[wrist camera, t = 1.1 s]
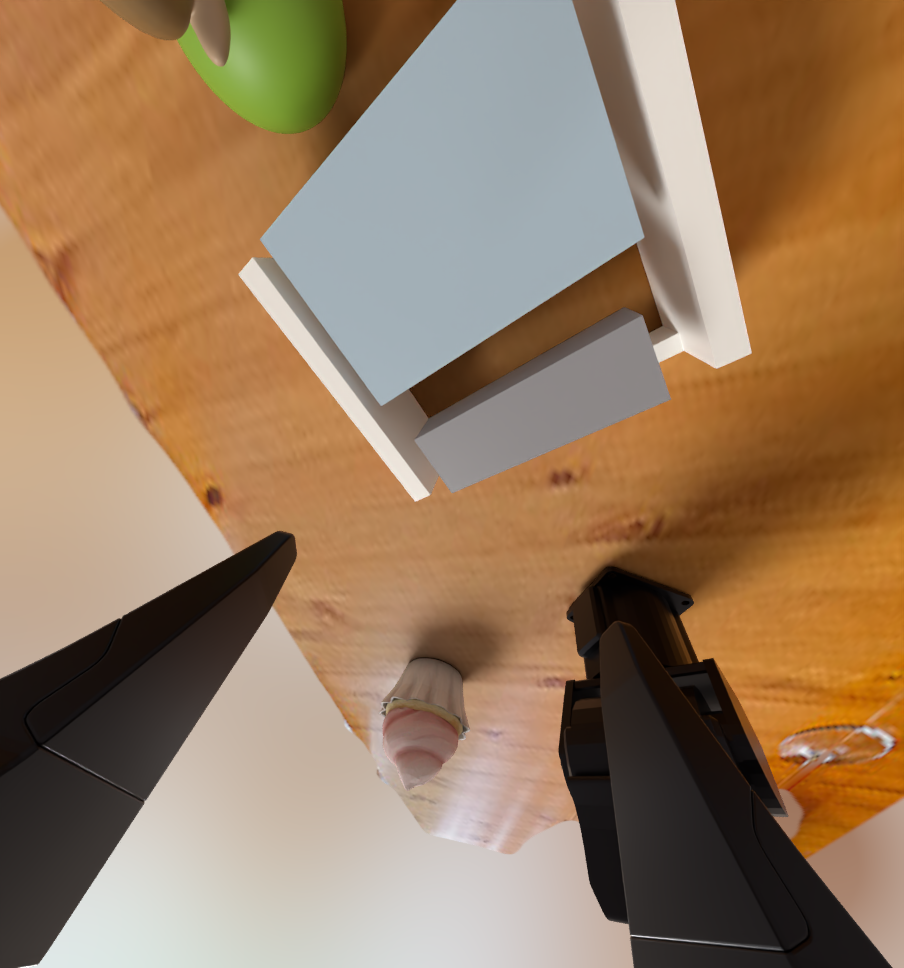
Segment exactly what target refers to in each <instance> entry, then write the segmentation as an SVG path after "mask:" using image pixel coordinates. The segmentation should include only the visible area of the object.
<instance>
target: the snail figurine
mask: <svg viewBox="0 0 904 968" xmlns="http://www.w3.org/2000/svg"><path fill="white" fill-rule="evenodd" d="M100 1H101V2H102V3H103V4H105V5H106V6H107V7H108V8H109V9H111V10H112V11H113V12H114V13H115V14H117V15H118V16H119V17H120V18H122V19H123V20H125V21H126V22H128V23H129V24H131V25H132V26H134V27H135V28H137V29H138V30H140V31H142V32H144V33H146V34H148V35H151V36H153V37H155V38H158V39H162V40H176V39H177V41H178V43H179V44H180V46H181V48H182V50H183V51H184V53H185V54H186V56H187V58H188V59H189V61H190V62H191V64H192V65H193V67H194V68H195V70H196V71H197V72H198V74H199V75H200V76H201V78H202V79H203V80H204V81H205V83H206V84H207V85H208V86H209V87H210V89H211V90H212V91H213V92H214V93H215V94H216V95H217V96H218V97H219V98H220V99H221V100H222V101H223V102H224V103H225V104H226V105H227V106H228V107H230V108H231V109H232V110H233V111H234V112H236V113H237V114H238V115H240V116H241V117H243V118H244V119H246V120H247V121H249V122H251V123H252V124H254V125H256V126H258V127H260V128H263V129H266V130H268V131H272V132H276V133H282V134H294V133H300V132H304V131H306V130H309V129H311V128H313V127H314V126H316V125H317V124H318V123H320V122H321V121H322V120H323V119H324V118H325V117H326V116H327V114H328V113H329V112H330V110H331V109H332V107H333V105H334V103H335V102H336V99H337V97H338V95H339V92H340V89H341V86H342V82H343V78H344V72H345V65H346V53H347V36H346V22H345V14H344V8H343V2H342V0H100Z"/></svg>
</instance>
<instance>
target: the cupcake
mask: <svg viewBox="0 0 904 968" xmlns="http://www.w3.org/2000/svg"><path fill="white" fill-rule="evenodd" d="M381 706H382V707H383V708H382V709H381V710H380V712H379V714H381V715H382V716H384V717H385V719H384V722H383V728H382V730H383V736H384V737H383V748H384V752H385V754H386V756H387V758H388V759H389V760H390V761H391V762H392V763H393V764H394V765H396V766H397V771H398V774H399V777H400V779H401V782H402V784H403V786H404V788H405V789H406V790H407V791H408V790H410V789H412V788H414V787H416V786H420V785H424V784H425V783H427V782H429V781H430V780H432V779H433V778H434V777H435V776H436V775H437V773H438V772H439V771H440V769H441V767H442V764H443V763H445V762H447V761H448V760H449V759H450V758H451V757H452V756H453V755H454V753H455V751H456V749H457V746H458V740H465V739H466V736H465V733H467V732H469V731H470V728H469V724H468V720H467V717H466V713H465V708H464V698H463V681H462V678H461V675H460V673H459V672H458V671H457V670H456V669H455V668H453V667H452V666H451V665H449V664H447V663H444V662H442V661H439V660H435V659H429V658H420V659H415V660H413V661H411V662H410V663H409V664H408V665H407V667H406V669H405V670H404V672H403V674H402V676H401V677H400V679H399V681H398V682H397V684H396V685H395V687H394V688H393V690H392V691H391V692H390V693H389V694H388V695H387V696H386V697H385V698H384V700H383V701H382V702H381Z"/></svg>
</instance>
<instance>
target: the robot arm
mask: <svg viewBox="0 0 904 968" xmlns="http://www.w3.org/2000/svg"><path fill="white" fill-rule="evenodd" d="M296 556H297V550H296V543H295V537H294V535H293V534H291V533H287V532H283V531H277V532H275V533H273V534H271V535H269V536H267V537H266V538H264V539H262V540H260V541H258V542H256V543H255V544H253V545H251V546H249V547H247V548H246V549H244V550H242V551H240V552H238V553H236V554H235V555H233V556H231V557H230V558H227V559H226V560H224V561H222V562H220V563H218V564H216V565H215V566H213V567H211V568H209V569H208V570H206V571H204V572H202V573H201V574H199V575H197V576H195V577H193V578H191V579H189V580H188V581H186V582H184V583H182V584H180V585H178V586H177V587H175V588H173V589H171V590H169V591H167V592H166V593H164V594H162V595H160V596H159V597H157V598H155V599H153V600H151V601H150V602H147V603H146V604H144V605H142V606H140V607H139V608H137V609H135V610H133V611H131V612H129V613H128V614H126V615H124V616H123V617H122V619H120V618H119V619H117V620H115V621H113V622H111V623H109V624H107V625H105V626H104V627H102V628H100V629H98V630H96V631H94V632H93V633H91V634H89V635H87V636H85V637H83V638H81V639H79V640H78V641H76V642H74V643H72V644H70V645H68V646H66V647H64V648H62V649H60V650H58V651H56V652H54V653H52V654H50V655H48V656H46V657H44V658H42V659H40V660H38V661H36V662H34V663H32V664H30V665H28V666H26V667H24V668H22V669H20V670H18V671H16V672H13V673H11V674H9V675H7V676H5V677H3V678H1V679H0V968H24V967H30V966H35V965H38V964H39V963H40V961H41V960H42V958H43V957H44V956H45V954H46V953H47V951H48V950H49V948H50V947H51V945H52V944H53V942H54V941H55V939H56V938H57V936H58V935H59V933H60V932H61V930H62V929H63V927H64V926H65V924H66V922H67V921H68V919H69V918H70V916H71V914H72V913H73V912H74V910H75V908H76V907H77V906H78V904H79V903H80V901H81V899H82V898H83V896H84V895H85V893H86V892H87V890H88V889H89V887H90V886H91V884H92V882H93V881H94V879H95V878H96V877H97V875H98V873H99V872H100V870H101V869H102V867H103V866H104V864H105V863H106V861H107V860H108V858H109V856H110V855H111V853H112V852H113V850H114V849H115V847H116V846H117V844H118V843H119V841H120V840H121V838H122V837H123V835H124V834H125V832H126V831H127V829H128V828H129V826H130V824H131V823H132V821H133V820H134V818H135V817H136V815H137V814H138V812H139V810H140V809H141V808H142V806H143V805H144V801H145V800H146V799H147V798H148V797H149V795H150V793H151V792H152V790H153V789H154V787H155V786H156V784H157V783H158V781H159V779H160V778H161V777H162V775H163V774H164V772H165V770H166V769H167V767H168V766H169V764H170V763H171V761H172V760H173V758H174V756H175V755H176V754H177V752H178V751H179V749H180V747H181V746H182V744H183V743H184V741H185V740H186V738H187V737H188V735H189V734H190V732H191V731H192V729H193V727H194V726H195V725H196V723H197V721H198V720H199V718H200V717H201V715H202V714H203V712H204V711H205V709H206V708H207V706H208V705H209V703H210V702H211V700H212V699H213V697H214V695H215V694H216V692H217V691H218V689H219V688H220V686H221V685H222V683H223V682H224V680H225V679H226V677H227V676H228V674H229V673H230V671H231V670H232V668H233V666H234V665H235V663H236V662H237V660H238V659H239V657H240V656H241V654H242V652H243V651H244V649H245V648H246V647H247V645H248V643H249V642H250V640H251V639H252V637H253V636H254V634H255V633H256V631H257V630H258V628H259V627H260V625H261V624H262V622H263V621H264V619H265V617H266V616H267V614H268V612H269V611H270V609H271V607H272V605H273V603H274V601H275V599H276V597H277V595H278V594H279V592H280V590H281V588H282V586H283V584H284V582H285V580H286V578H287V576H288V574H289V572H290V570H291V568H292V566H293V564H294V562H295V560H296ZM612 573H613V574H612ZM693 604H694V601H693V599H692V597H691V596H690V595H689V594H686V593H683V592H681V591H678V590H675V589H672V588H670V587H667V586H664V585H662V584H659V583H656V582H654V581H651V580H648V579H645V578H643V577H640V576H637V575H635V574H632V573H629V572H626V571H624V570H621V569H618V568H616V567H607V568H606V569H604V571H603V572H602V573H601V574H600V575H599V576H598V577H597V578H596V579H595V581H594V582H593V583H592V584H591V585H590V586H589V587H587V588H586V590H585V591H584V592H583V593H582V594H581V595H580V596H579V597H578V599H577V600H576V601H575V602H574V603H573V604H572V606H571V608H570V609H569V610H568V611H567V613H566V614H567V619H568V620H569V621H571V622H574V627H575V635H576V644H577V652H578V654H579V656H581V657H584V664H585V671H586V678H587V679H586V680H579V681H575V680H569V681H566V686H565V694H564V703H563V712H562V722H561V732H560V741H559V757H560V760H561V766H562V769H563V773H564V777H565V780H566V783H567V787H568V789H569V791H570V794H571V796H572V798H573V801H574V804H575V807H576V811H577V815H578V819H579V824H580V828H581V833H582V838H583V844H584V850H585V856H586V863H587V869H588V875H589V881H590V885H591V887H592V889H593V892H594V894H595V896H596V898H597V900H598V902H599V904H600V906H601V909H602V911H603V913H604V915H605V916H606V918H607V919H608V920H610V921H614V922H620V923H625V924H629V930H630V935H631V938H630V940H631V948H632V956H633V964H634V968H892V967H891V965H890V964H889V963H888V962H887V961H886V959H885V958H884V957H883V955H882V954H881V953H880V952H879V951H878V949H877V948H876V947H875V946H874V944H873V943H872V942H871V941H870V939H869V938H868V937H867V936H866V935H865V933H864V932H863V931H862V929H861V928H860V927H859V926H858V925H857V923H856V922H855V921H854V920H853V918H852V917H851V916H850V915H849V913H848V912H847V911H846V910H845V908H843V906H842V905H841V904H840V902H839V901H838V900H837V898H836V897H835V896H834V895H833V893H832V892H831V891H830V890H829V889H828V887H827V886H826V885H825V883H824V882H823V881H822V880H821V878H820V877H819V876H818V875H817V873H816V872H815V871H814V870H813V868H812V867H811V866H810V864H809V863H808V862H807V861H806V859H805V858H804V857H803V856H802V854H801V853H800V852H799V851H798V849H797V848H796V847H795V845H794V844H793V843H792V841H791V840H790V839H789V837H788V836H787V835H786V833H785V832H784V831H783V830H782V828H781V827H780V825H779V824H778V823H777V821H776V820H775V819H774V817H773V816H777V817H778V816H779V817H788V814H787V811H786V808H785V806H784V803H783V800H782V798H781V795H780V793H779V790H778V788H777V785H776V783H775V780H774V777H773V775H772V772H771V770H770V767H769V765H768V762H767V760H766V757H765V754H764V752H763V749H762V747H761V745H760V743H759V740H758V738H757V736H756V734H755V732H754V730H753V728H752V726H751V724H750V722H749V720H748V718H747V716H746V714H745V712H744V710H743V708H742V706H741V704H740V702H739V700H738V698H737V697H736V695H735V693H734V692H733V690H732V688H731V687H730V685H729V683H728V682H727V680H726V678H725V677H724V675H723V673H722V672H721V670H720V668H719V667H718V665H717V664H716V662H715V660H714V659H713V658H711V659H705V660H703V662H699V661H698V659H697V656H696V654H695V652H694V649H693V647H692V645H691V642H690V640H689V638H688V635H687V633H686V630H685V628H684V626H683V623H682V621H681V619H680V616H679V615H681V614H682V613H683V612H685V611H686V610H687V609H688V608H690V607H691V606H692V605H693Z"/></svg>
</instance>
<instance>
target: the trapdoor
mask: <svg viewBox="0 0 904 968" xmlns="http://www.w3.org/2000/svg"><path fill="white" fill-rule="evenodd" d="M643 238H645V237H644V234H643V230H642V227H641V224H640V221H639V217H638V214H637V211H636V208H635V204H634V201H633V198H632V195H631V191H630V188H629V185H628V181H627V178H626V175H625V172H624V168H623V165H622V162H621V159H620V155H619V152H618V149H617V146H616V142H615V139H614V136H613V133H612V129H611V126H610V123H609V119H608V116H607V113H606V110H605V106H604V103H603V100H602V97H601V93H600V90H599V87H598V84H597V80H596V77H595V74H594V71H593V67H592V64H591V61H590V57H589V54H588V51H587V48H586V44H585V41H584V38H583V35H582V31H581V28H580V25H579V22H578V18H577V15H576V12H575V9H574V5H573V2H572V0H457V1H456V2H455V3H454V5H453V6H452V7H451V8H450V9H449V11H448V12H447V13H446V14H445V16H444V17H443V18H442V19H441V20H440V22H439V23H438V24H437V25H436V26H435V28H434V29H433V30H432V31H431V33H430V34H429V35H428V36H427V37H426V39H425V40H424V41H423V42H422V43H421V45H420V46H419V47H418V48H417V49H416V51H415V52H414V53H413V54H412V56H411V57H410V58H409V59H408V60H407V62H406V63H405V64H404V65H403V66H402V68H401V69H400V70H399V71H398V72H397V74H396V75H395V76H394V77H393V79H392V80H391V81H390V82H389V83H388V85H387V86H386V87H385V88H384V89H383V91H382V92H381V93H380V94H379V96H378V97H377V98H376V99H375V100H374V102H373V103H372V104H371V105H370V106H369V108H368V109H367V110H366V111H365V112H364V114H363V115H362V116H361V117H360V119H359V120H358V121H357V122H356V123H355V125H354V126H353V127H352V128H351V129H350V131H349V132H348V133H347V134H346V136H345V137H344V138H343V139H342V140H341V142H340V143H339V144H338V145H337V146H336V148H335V149H334V150H333V151H332V152H331V154H330V155H329V156H328V157H327V159H326V160H325V161H324V162H323V163H322V165H321V166H320V167H319V168H318V169H317V171H316V172H315V173H314V174H313V176H312V177H311V178H310V179H309V180H308V182H307V183H306V184H305V185H304V186H303V188H302V189H301V190H300V191H299V192H298V194H297V195H296V196H295V197H294V199H293V200H292V201H291V202H290V203H289V205H288V206H287V207H286V208H285V209H284V211H283V212H282V213H281V214H280V215H279V217H278V218H277V219H276V220H275V222H274V223H273V224H272V225H271V226H270V228H269V229H268V230H267V231H266V232H265V234H264V235H263V236H262V237H261V239H260V240H261V242H262V243H263V244H264V246H265V247H266V248H267V250H268V251H269V253H270V254H271V255H272V257H273V258H274V259H275V261H276V262H277V264H278V265H279V266H280V268H281V269H282V271H283V272H284V273H285V275H286V276H287V277H288V279H289V280H290V282H291V283H292V284H293V286H294V287H295V288H296V290H297V291H298V293H299V294H300V295H301V297H302V298H303V299H304V301H305V302H306V304H307V305H308V306H309V308H310V309H311V310H312V312H313V313H314V315H315V316H316V317H317V319H318V320H319V321H320V323H321V324H322V326H323V327H324V328H325V330H326V331H327V332H328V334H329V335H330V337H331V338H332V339H333V341H334V342H335V344H336V345H337V346H338V348H339V349H340V350H341V352H342V353H343V355H344V356H345V357H346V359H347V360H348V361H349V363H350V364H351V366H352V367H353V368H354V370H355V371H356V372H357V374H358V375H359V377H360V378H361V379H362V381H363V382H364V383H365V385H366V386H367V388H368V389H369V390H370V392H371V393H372V394H373V396H374V397H375V399H376V400H377V401H378V403H379V404H380V405H381V406H383V405H384V404H386V403H387V402H389V401H390V400H392V399H393V398H395V397H397V396H398V395H400V394H401V393H403V392H404V391H406V390H408V389H409V388H411V387H412V386H414V385H415V384H417V383H418V382H420V381H422V380H423V379H425V378H426V377H428V376H429V375H431V374H432V373H434V372H436V371H437V370H439V369H440V368H442V367H443V366H445V365H447V364H448V363H450V362H451V361H453V360H454V359H456V358H457V357H459V356H461V355H462V354H464V353H465V352H467V351H468V350H470V349H471V348H473V347H475V346H476V345H478V344H479V343H481V342H482V341H484V340H485V339H487V338H489V337H490V336H492V335H493V334H495V333H496V332H498V331H500V330H501V329H503V328H504V327H506V326H507V325H509V324H510V323H512V322H514V321H515V320H517V319H518V318H520V317H521V316H523V315H524V314H526V313H528V312H529V311H531V310H532V309H534V308H535V307H537V306H538V305H540V304H542V303H543V302H545V301H546V300H548V299H549V298H551V297H553V296H554V295H556V294H557V293H559V292H560V291H562V290H563V289H565V288H567V287H568V286H570V285H571V284H573V283H574V282H576V281H577V280H579V279H581V278H582V277H584V276H585V275H587V274H588V273H590V272H591V271H593V270H595V269H596V268H598V267H599V266H601V265H602V264H604V263H606V262H607V261H609V260H610V259H612V258H613V257H615V256H616V255H618V254H620V253H621V252H623V251H624V250H626V249H627V248H629V247H630V246H632V245H634V244H635V243H637V242H638V241H640V240H641V239H643ZM668 400H671V398H670V395H669V392H668V389H667V386H666V383H665V380H664V377H663V374H662V371H661V368H660V365H659V362H658V360H657V357H656V354H655V351H654V348H653V345H652V342H651V339H650V336H649V333H648V330H647V327H646V324H645V321H644V318H643V315H641V314H639V313H637V312H634V311H632V310H630V309H628V308H625V307H624V308H622V309H620V310H618V311H617V312H615V313H613V314H611V315H609V316H608V317H606V318H604V319H602V320H601V321H599V322H597V323H595V324H594V325H592V326H590V327H588V328H587V329H585V330H583V331H581V332H580V333H578V334H576V335H574V336H573V337H571V338H569V339H567V340H566V341H564V342H562V343H560V344H559V345H557V346H555V347H553V348H552V349H550V350H548V351H546V352H545V353H543V354H541V355H539V356H538V357H536V358H534V359H532V360H531V361H529V362H527V363H525V364H524V365H522V366H520V367H518V368H517V369H515V370H513V371H511V372H510V373H508V374H506V375H504V376H502V377H501V378H499V379H497V380H495V381H494V382H492V383H490V384H488V385H487V386H485V387H483V388H481V389H480V390H478V391H476V392H474V393H473V394H471V395H469V396H467V397H466V398H464V399H462V400H460V401H459V402H457V403H455V404H453V405H452V406H450V407H448V408H446V409H445V410H443V411H441V412H439V413H438V414H436V415H434V416H432V417H431V418H429V419H428V420H427V422H426V423H425V425H424V426H423V428H422V429H421V431H420V432H419V434H418V435H417V436H416V438H415V439H414V441H415V442H416V444H417V445H418V446H419V448H420V449H421V451H422V452H423V453H424V455H425V456H426V458H427V459H428V460H429V462H430V463H431V465H432V466H433V467H434V469H435V470H436V472H437V473H438V474H439V476H440V477H441V479H442V480H443V481H444V483H445V484H446V486H447V487H448V488H449V490H450V491H451V493H454V492H456V491H458V490H461V489H463V488H465V487H468V486H470V485H472V484H475V483H477V482H479V481H482V480H484V479H486V478H489V477H491V476H493V475H496V474H498V473H500V472H503V471H505V470H507V469H510V468H512V467H514V466H517V465H519V464H521V463H524V462H526V461H528V460H531V459H533V458H535V457H538V456H540V455H542V454H545V453H547V452H549V451H552V450H554V449H556V448H559V447H561V446H563V445H566V444H568V443H570V442H573V441H575V440H577V439H580V438H582V437H584V436H587V435H589V434H591V433H594V432H596V431H598V430H601V429H603V428H605V427H608V426H610V425H612V424H615V423H617V422H619V421H622V420H624V419H626V418H629V417H631V416H633V415H636V414H638V413H640V412H643V411H645V410H647V409H650V408H652V407H654V406H657V405H659V404H661V403H664V402H666V401H668Z"/></svg>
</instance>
